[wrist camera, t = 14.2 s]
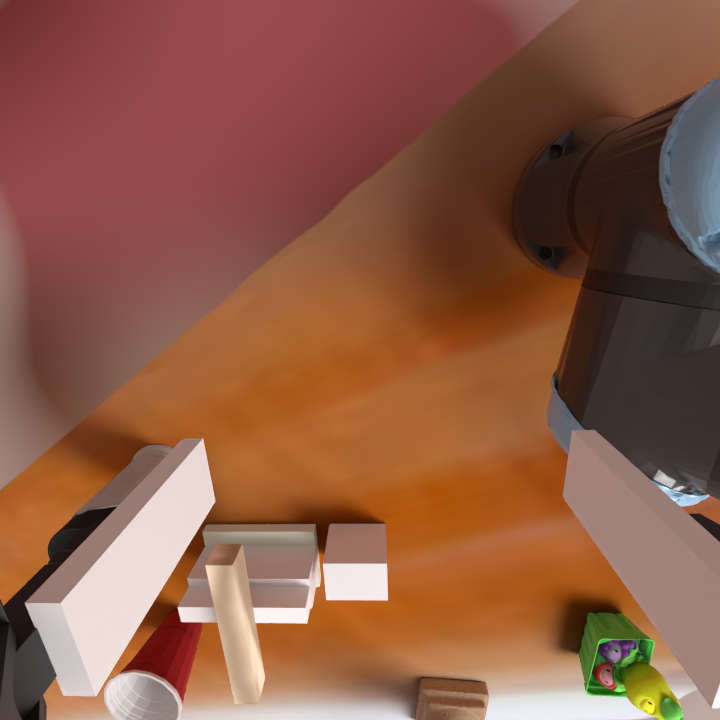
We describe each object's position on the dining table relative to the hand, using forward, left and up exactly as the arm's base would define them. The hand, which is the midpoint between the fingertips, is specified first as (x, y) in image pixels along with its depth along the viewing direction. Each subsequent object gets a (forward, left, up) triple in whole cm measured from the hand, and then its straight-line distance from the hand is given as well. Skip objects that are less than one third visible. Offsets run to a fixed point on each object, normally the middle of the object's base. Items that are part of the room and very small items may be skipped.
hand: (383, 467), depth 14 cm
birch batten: (+18, +36, -23) cm, 46 cm away
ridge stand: (+18, +36, -33) cm, 52 cm away
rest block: (+4, +34, -33) cm, 47 cm away
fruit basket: (-33, +52, -33) cm, 70 cm away
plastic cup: (+33, +50, -33) cm, 68 cm away
